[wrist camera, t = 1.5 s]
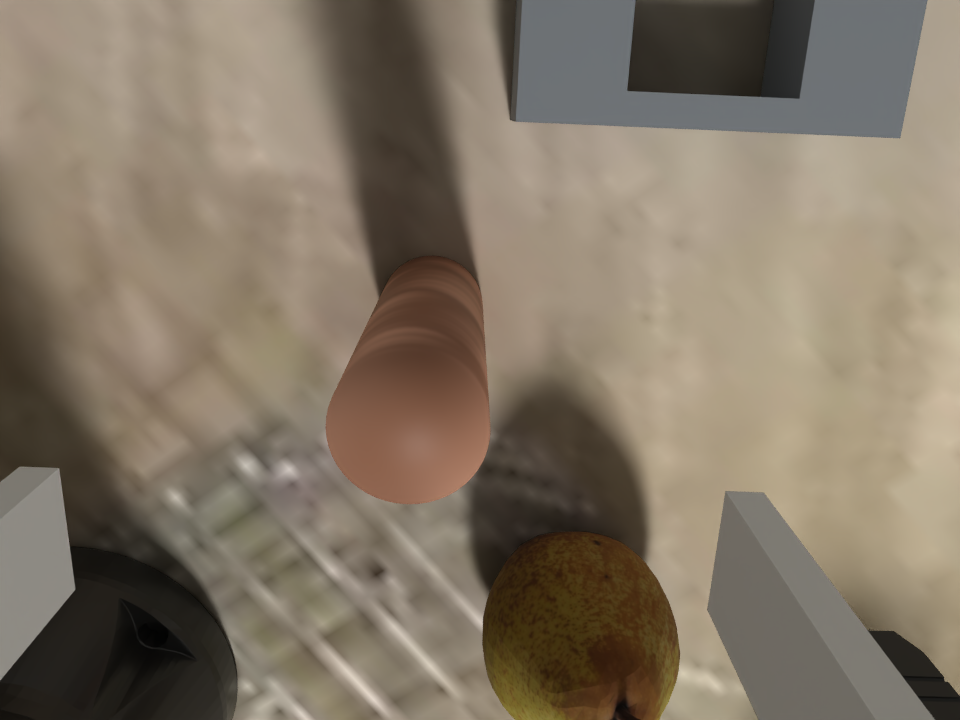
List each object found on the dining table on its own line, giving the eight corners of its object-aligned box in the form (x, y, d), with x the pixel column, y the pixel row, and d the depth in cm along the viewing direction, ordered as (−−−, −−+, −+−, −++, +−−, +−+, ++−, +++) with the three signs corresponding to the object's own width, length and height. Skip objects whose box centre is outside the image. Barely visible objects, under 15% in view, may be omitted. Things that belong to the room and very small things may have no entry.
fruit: (501, 677, 40) (513, 901, 29) (461, 524, 38) (457, 705, 26) (667, 644, 40) (746, 859, 28) (639, 487, 37) (714, 655, 26)
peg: (381, 351, 35) (327, 501, 22) (381, 253, 34) (324, 349, 20) (480, 355, 35) (486, 506, 22) (484, 257, 34) (494, 354, 20)
